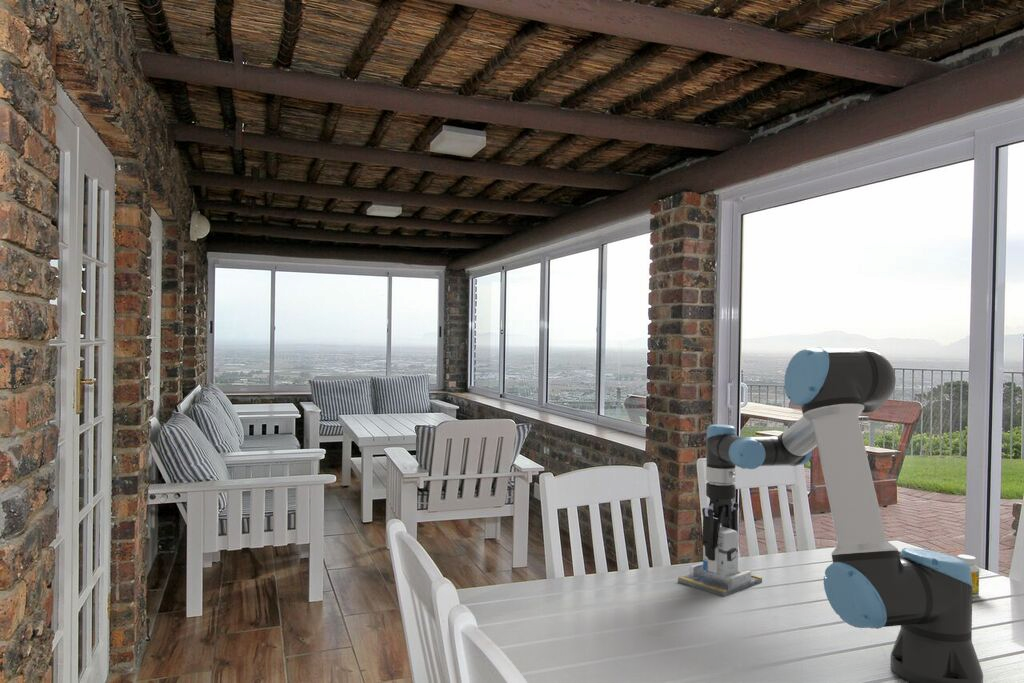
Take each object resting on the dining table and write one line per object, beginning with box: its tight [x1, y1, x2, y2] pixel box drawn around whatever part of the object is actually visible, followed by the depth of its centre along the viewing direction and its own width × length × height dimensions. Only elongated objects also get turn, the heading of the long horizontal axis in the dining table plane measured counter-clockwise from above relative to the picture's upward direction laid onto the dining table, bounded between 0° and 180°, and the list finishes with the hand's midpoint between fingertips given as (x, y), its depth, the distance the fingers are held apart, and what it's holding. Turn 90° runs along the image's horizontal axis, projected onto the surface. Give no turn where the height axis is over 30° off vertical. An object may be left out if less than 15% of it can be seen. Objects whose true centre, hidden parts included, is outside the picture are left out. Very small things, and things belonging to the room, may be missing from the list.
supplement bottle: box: [956, 554, 980, 598], centre depth 179 cm, size 5×5×10 cm
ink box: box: [702, 525, 739, 578], centre depth 187 cm, size 8×5×12 cm, turn 25°
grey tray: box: [677, 561, 763, 597], centre depth 187 cm, size 18×14×4 cm
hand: (720, 569), depth 187 cm, fingers closed on ink box, 6 cm apart
